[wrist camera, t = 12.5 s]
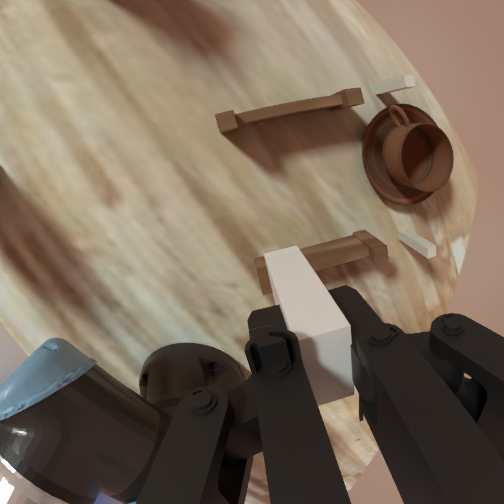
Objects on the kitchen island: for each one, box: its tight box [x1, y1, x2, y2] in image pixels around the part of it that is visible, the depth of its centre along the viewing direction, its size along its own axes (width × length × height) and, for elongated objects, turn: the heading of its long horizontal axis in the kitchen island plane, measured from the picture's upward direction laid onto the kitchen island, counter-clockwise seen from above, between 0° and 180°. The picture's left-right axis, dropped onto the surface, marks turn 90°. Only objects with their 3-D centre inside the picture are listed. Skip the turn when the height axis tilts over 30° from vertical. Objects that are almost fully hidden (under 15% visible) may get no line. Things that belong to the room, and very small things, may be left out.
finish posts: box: [373, 75, 436, 258], centre depth 30 cm, size 19×1×7 cm, turn 14°
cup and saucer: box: [362, 104, 453, 205], centre depth 30 cm, size 12×12×6 cm
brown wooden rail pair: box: [215, 87, 388, 295], centre depth 30 cm, size 18×14×6 cm
